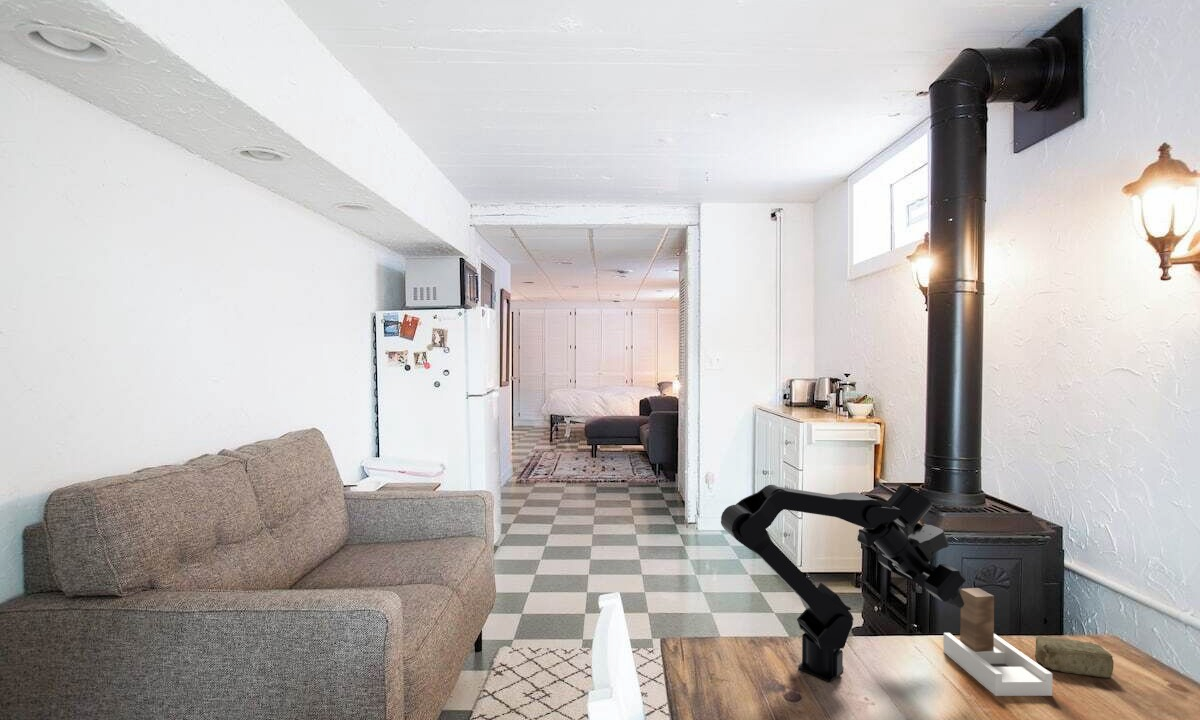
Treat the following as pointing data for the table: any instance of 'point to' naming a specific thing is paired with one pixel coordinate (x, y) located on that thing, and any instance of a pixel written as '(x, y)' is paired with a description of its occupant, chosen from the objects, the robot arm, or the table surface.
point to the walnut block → (977, 620)
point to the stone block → (1073, 656)
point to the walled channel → (1001, 668)
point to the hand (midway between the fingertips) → (944, 595)
